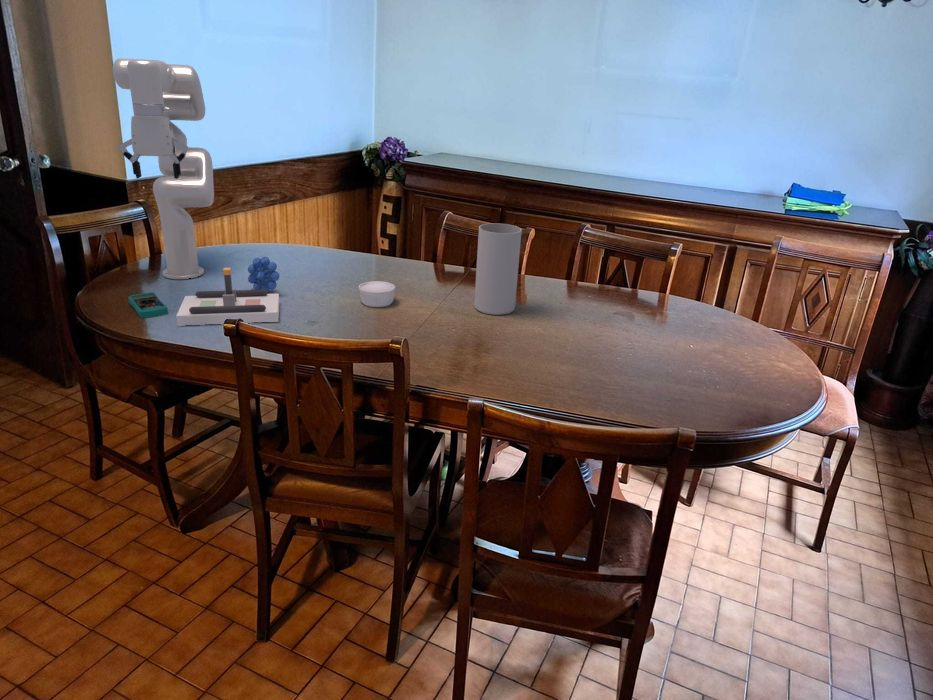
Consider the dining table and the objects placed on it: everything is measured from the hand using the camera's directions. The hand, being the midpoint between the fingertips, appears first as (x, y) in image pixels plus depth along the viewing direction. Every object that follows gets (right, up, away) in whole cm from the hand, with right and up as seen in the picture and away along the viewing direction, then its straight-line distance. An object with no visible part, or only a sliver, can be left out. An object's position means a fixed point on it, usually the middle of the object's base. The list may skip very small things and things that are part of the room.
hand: (158, 177), depth 178 cm
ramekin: (+57, -33, +22) cm, 69 cm away
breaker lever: (+18, -34, +5) cm, 38 cm away
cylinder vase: (+93, -35, +22) cm, 102 cm away
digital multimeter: (-6, -36, +8) cm, 37 cm away
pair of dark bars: (+18, -34, +6) cm, 39 cm away
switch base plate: (+18, -37, +7) cm, 42 cm away
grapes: (+22, -29, +25) cm, 44 cm away
